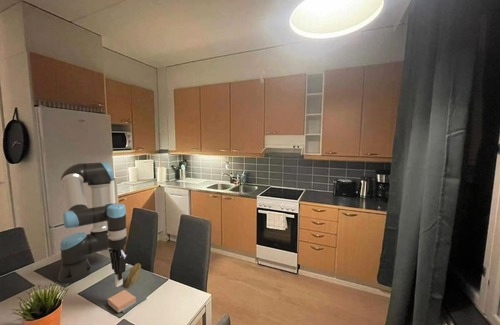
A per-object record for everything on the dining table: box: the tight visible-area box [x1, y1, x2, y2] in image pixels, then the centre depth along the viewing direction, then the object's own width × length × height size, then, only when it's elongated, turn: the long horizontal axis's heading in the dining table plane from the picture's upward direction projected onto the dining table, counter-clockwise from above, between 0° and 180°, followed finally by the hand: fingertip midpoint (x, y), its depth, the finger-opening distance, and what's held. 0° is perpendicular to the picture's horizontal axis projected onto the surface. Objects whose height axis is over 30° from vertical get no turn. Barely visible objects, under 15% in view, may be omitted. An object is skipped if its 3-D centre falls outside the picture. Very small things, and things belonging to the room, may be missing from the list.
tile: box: [107, 289, 136, 313], centre depth 103 cm, size 2×8×10 cm
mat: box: [120, 290, 147, 314], centre depth 105 cm, size 10×11×1 cm
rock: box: [124, 262, 142, 289], centre depth 120 cm, size 11×9×10 cm
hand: (119, 285), depth 104 cm, fingers closed
